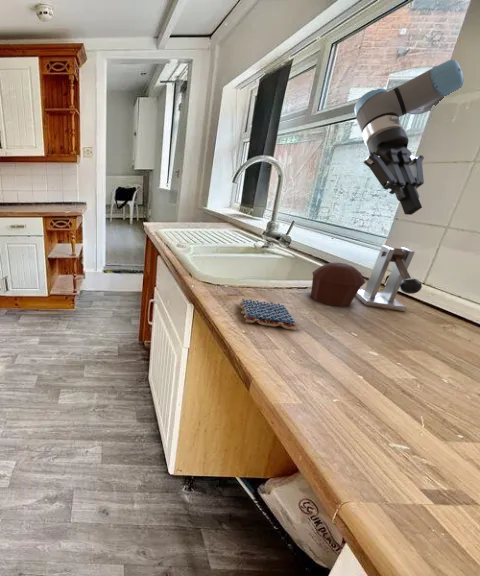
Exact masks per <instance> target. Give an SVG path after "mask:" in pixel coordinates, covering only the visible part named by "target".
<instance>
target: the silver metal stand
mask: <svg viewBox="0 0 480 576" xmlns="http://www.w3.org/2000/svg"><path fill="white" fill-rule="evenodd" d="M392 248H393V247H390V246H388V245H383V244H382V245H381V248H380V250H379V252H378V255H377V258H376V260H375V262H374V266H373V268H372V270H371V273H370V274H369V275H370V276H369V278H368V280H367V283H366V285H365V287H364V289H359V290H358V292H357V294H356V295H355V298H357V299H358V300H359V301H360V302H361V303H363V304H364V306H368V307H374V308H381V309H386V310H392V311H393V310H394V311H400V312H405V310H406V306H405V304H402V303H401V302H400V301H398V300H397V299H396V297H397V294H398V292H399V290H400V283H401V282H402V281H403V279H402V277H401V275H400V273H399V271H398V268H397V266H396V264H395V263H394V264H393V266H392V269H391V271H390V273H389V276H388V279H387V280H386V283H385V285H384V288H383V290H382V292H379V289H380V286H381V284H382V282H383V279H384V278H385V274H386V272H387V270H388V268H389V265H390V263H391V262H390V260H391V258H392V255H393V253H394V250H395V249H392ZM400 249H402V251H403V253H404V255H405V256H404V257H403V259H402V261H403V263H404V265H405V267H406V269H407V270H408V269H409V267H410V264H411V262H412V259H413V257H414V255H415V253H416V251H414V250H412V249H410V248H408V247H402V246H401V247H400Z"/></svg>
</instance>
